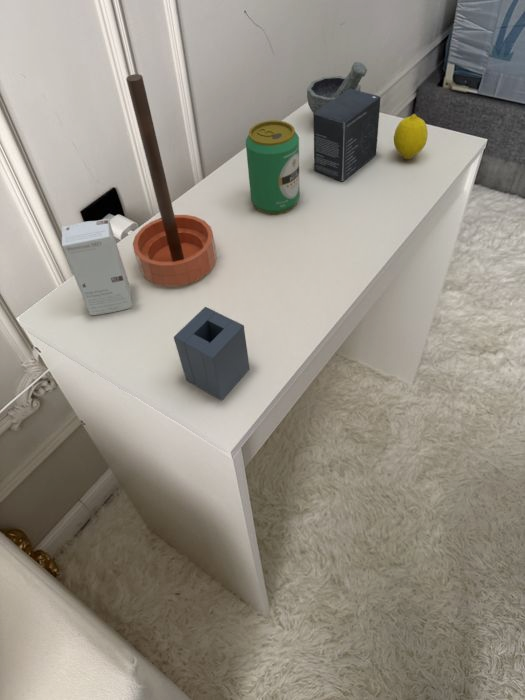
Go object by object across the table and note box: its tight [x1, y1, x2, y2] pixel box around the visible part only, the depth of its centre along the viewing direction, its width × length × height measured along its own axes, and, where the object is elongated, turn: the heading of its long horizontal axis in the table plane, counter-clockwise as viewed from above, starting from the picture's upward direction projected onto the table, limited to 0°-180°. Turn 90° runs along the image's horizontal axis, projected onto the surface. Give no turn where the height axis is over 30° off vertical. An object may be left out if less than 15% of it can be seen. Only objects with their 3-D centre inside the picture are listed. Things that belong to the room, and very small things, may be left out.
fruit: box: [393, 113, 429, 160], centre depth 89 cm, size 6×6×8 cm
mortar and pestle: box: [306, 61, 368, 114], centre depth 97 cm, size 11×9×12 cm
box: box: [312, 89, 381, 182], centre depth 89 cm, size 11×7×10 cm, turn 139°
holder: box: [173, 306, 251, 402], centre depth 61 cm, size 6×6×8 cm
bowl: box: [132, 214, 217, 287], centre depth 76 cm, size 11×11×4 cm
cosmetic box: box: [61, 218, 133, 316], centre depth 69 cm, size 6×4×12 cm
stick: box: [125, 73, 184, 262], centre depth 68 cm, size 2×2×26 cm
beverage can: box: [245, 119, 300, 215], centre depth 82 cm, size 8×8×12 cm
